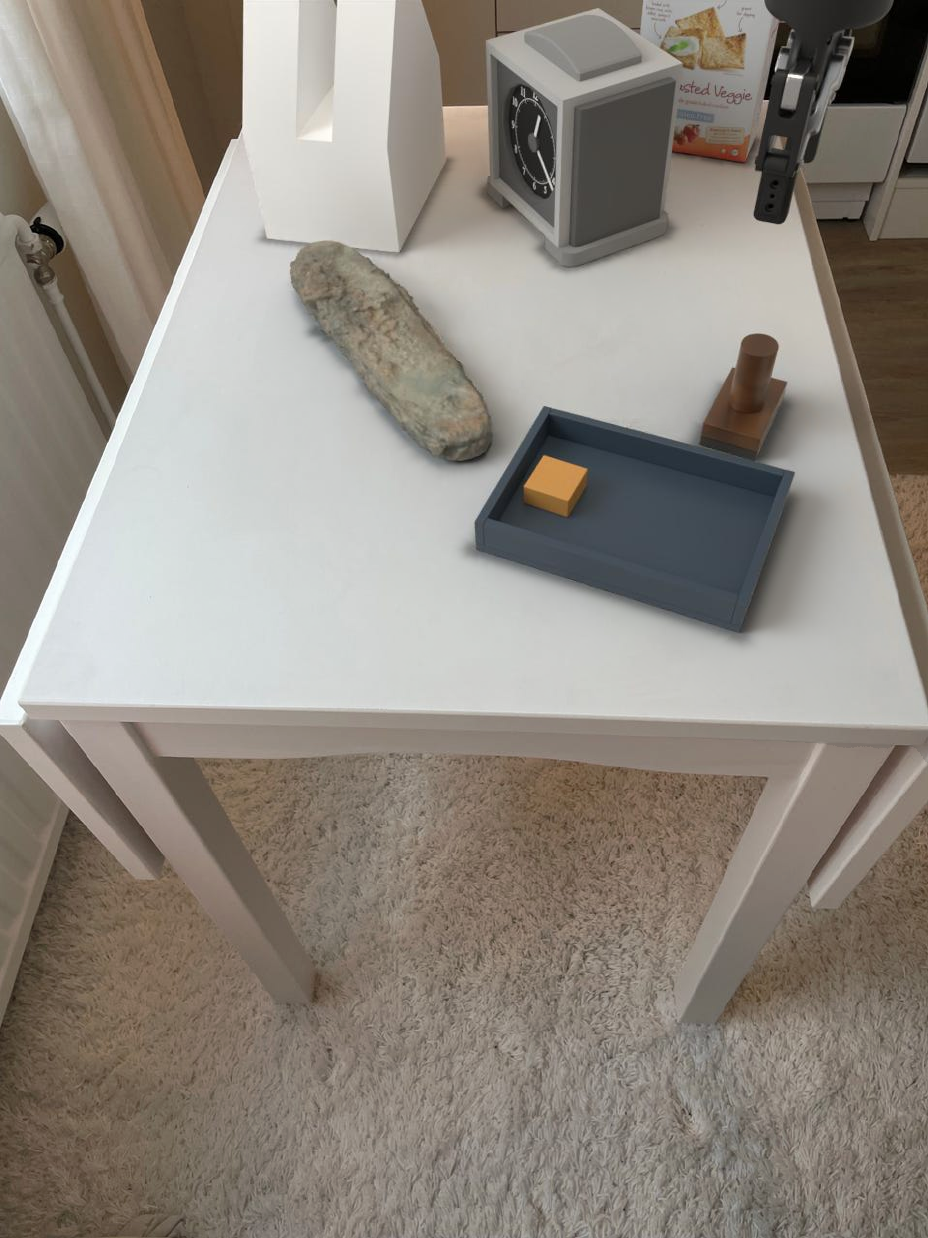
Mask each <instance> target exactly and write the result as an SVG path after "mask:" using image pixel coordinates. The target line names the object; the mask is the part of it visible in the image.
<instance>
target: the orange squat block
mask: <svg viewBox="0 0 928 1238" xmlns="http://www.w3.org/2000/svg"><path fill="white" fill-rule="evenodd" d="M587 474H588V469H586V468H583V467H580V466H577V465H574V464H571V463H567V462H564V461H561V460H558V459H555V458H552V457H548V456H545V455H544V456H543V457H542V459H541V460H540V462H539V463H538V465H537V467H536V468H535V470H534V471H533V473H532V474H531V476H530V477H529V479H528V481H527V482H526V484H525V485H524V503H526V504H529V505H532V506H535V507H538V508H541V509H544V510H547V511H550V512H553V513H556V514H559V515H562V516H565V517H568V516H569V514H570V513H571V511H572V509H573V508H574V506H575V504H576V503H577V501H578V499H579V498H580V496H581V494H582V493H583V491H584V489H585V488H586V486H587Z"/></svg>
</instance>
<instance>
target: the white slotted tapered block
mask: <svg viewBox="0 0 928 1238" xmlns="http://www.w3.org/2000/svg"><path fill="white" fill-rule="evenodd" d="M242 3H243V8H242V9H243V10H242V16H243V17H242V135H241V136H242V138H243V142H244V147H245V151H246V156H247V159H248V164H249V169H250V172H251V176H252V181H253V184H254V185H253V186H254V189H255V193H256V194H255V195H256V197H257V202H258V206H259V210H260V215H261V220H262V223H263V227H264V233H265V236H266V239H268V240H276V241H278V240H279V241H287V242H296V243H306V244H311V243H313V242H316V241H326V240H328V241H335V242H340V243H342V244H344V245H347V246H348V247H350V248H352V249H361V250H370V251H380V252H390V253H397V254H400V252H401V250H402V248H403V247H404V244H405V242H406V241H407V238H408V236H409V234H410V232H411V230H412V229H413V227H414V224H415V223H416V221H417V219H418V217H419V215H420V214H421V211H422V210H423V208H424V205H425V203H426V201H427V199H428V197H429V196H430V193H431V192H432V190H433V187H434V186H435V184H436V182H437V180H438V178H439V176H440V174H441V172H442V170H443V168H444V166H445V164H446V162H447V153H446V151H447V150H446V135H445V124H444V123H445V122H444V120H445V119H444V107H443V94H442V93H443V92H442V91H443V90H442V77H441V64H440V63H441V61H440V56H439V52H438V48H437V45H436V43H435V39H434V36H433V32H432V30H431V27H430V24H429V20H428V16H427V13H426V11H425V7H424V4H423V1H422V0H336V3H335V1H334V0H243V1H242Z"/></svg>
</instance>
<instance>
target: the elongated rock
mask: <svg viewBox="0 0 928 1238" xmlns="http://www.w3.org/2000/svg"><path fill="white" fill-rule="evenodd" d="M289 268H290V269H289V276H290V284H291V285H292V288H293V289H294V291H295V292H296V293H297V295H298V296H299V297H300V302H301V304H302V305H304V306H305V309H307V312H308V313H307V314H308V315H309V316H312V317H313V318H314V319H315V321H316V322H317V323H319V326H318V328H317V329H318V331H323V332H324V333H325V335H327V337H328V338H329V339H332V340H333V343H334V344H335V346H336V347H337V348H338V349H339V350H340V352H341V355H343V356H344V357H345V358H346V359H347V360H348V361H349V362H350V363H351V364H352V366H353V368H354V370H355V371H356V373H357V375H358V377H359V378H360V379H362V380H363V381H364V383H365V386H366V389H367V391H368V392H369V393H370V394H372V395H373V396H374V397H375V398H376V400H378V401H379V402H380V404H381V406H382V407H384V408H386V409H387V411H388V412H389V413H390V414H392V416H393V417H394V419H395V420H396V422H397V423H398V424H399V426H400V427H401V429H402V430H403V431H406V432H407V433H408V435H409V436H410V437H411V438H412V439H413V440H415V441H416V442H417V443H418V444H419V446H420V448H421V449H426V450H429V451H430V452H431V455H432V456H433V457H435V458H436V457H441V458H443V459H445V460H447V461H452V462H455V461H459V462H462V461H468V460H472V459H474V458H476V457H480V456H481V455H482V454H484V453H485V452H487V450H488V448H489V446H490V445H491V442H492V439H493V437H494V433H493V423H492V416H491V414H490V413H489V410H488V405H487V402H485V399H484V396H483V393H482V392H480V391H479V389H477V387H476V386H475V385H474V383H473V381H472V380H471V379H470V378H469V377H468V376H467V375H466V372H465V370H464V367H463V366H464V365H463V364H462V363H461V361H460V360H459V359H457V357H456V356H454V355H453V354H452V353H451V351H450V350H448V349H447V347H446V346H445V344H444V342H443V341H442V340H441V338H440V337H439V334H437V332H436V331H435V330H434V327H433V326H432V325H431V323H430V322H429V321H428V320H426V318H425V317H424V316H423V315H422V314H421V312H420V307H418V306H417V305H416V303H415V302H414V301H413V300H414V297H413V296H412V295H410V293H409V290H407V289H406V288H405V287H404V286H402V285H401V284H400V283H397V282H395V281H394V280H393V279H392V278H391V275H390V273H389V272H385V270H384V269H382V268H379V267H378V266H377V265H376V264H375V263H373V261H372V260H371V259H370V257H368V256H364V255H363V254H361V253H360V252H358V250H356V249H355V248H351V247H348V246H347V245H344V244H342V243H340V242H335V241H328V240H326V241H316V242H313V243H306V244H305V245H304V246H302V247H301V248H300V249H299V251H298V252H297V253H296V256H295V259H294V260H293V261H290V263H289Z"/></svg>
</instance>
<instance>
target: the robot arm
mask: <svg viewBox="0 0 928 1238" xmlns="http://www.w3.org/2000/svg"><path fill="white" fill-rule="evenodd" d="M764 2H765V6H766V8H767V10H768V11H769V12H770V14H771V15H772V16H774V17H775V18H776V19H778V20H779V22H784V23H785V24H787V25H788V26H789V27H790V28H791V30H790V32H789V35H788V39H787V42H786V46H784V45H782V46H781V47H780V50H779V52H778V57H777V60H776V63H775V67H774V74H772V77H771V81H770V85H771V88H770V93H769V99H768V102H767V108H766V112H765V115H764V122H763V127H762V132H761V137H760V141H759V148H758V151H757V155H755V157H754V158H755V159H754V172H759V173H761V174H760V179H759V184H758V190H757V194H756V198H755V203H754V209H753V215H752V216H753V218H754V219H755V220H756V221H758V222H762V223H763V222H764V223H768V224H773V225H782V224H784V223H785V222H786V221H787V218H788V216H789V213H790V209H791V205H792V201H793V197H794V191H795V187H796V183H797V179H798V174H799V172H800V169H802V168H803V165H804V164H811V163H812V162H814V160H815V158H816V156H817V153H818V150H819V145H820V141H821V137H822V132H823V129H824V125H825V121H826V117H827V113H828V110H829V109H828V107H829V106H831V104H832V102H833V101H834V100H835V98H836V94H837V92H836V91H838V90H839V89H840V87H841V84H842V82H843V78H844V76H845V73H846V68H847V65H848V62H849V61H850V56H851V54H852V51H853V48H854V43H855V36H852V34H853V33H852V32H853V31H855V30H859V29H863V28H866V27H869V26H871V25H874V24H876V23H877V22H879V21H880V20H882V19H884V17H885V16H887V14H888V13H889V12H890V10H891V8H892V6H893V4H894V0H764ZM778 137H782V138H786V142H785V145H784V149H782V148H777V147H776V144H777V140H778Z"/></svg>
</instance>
